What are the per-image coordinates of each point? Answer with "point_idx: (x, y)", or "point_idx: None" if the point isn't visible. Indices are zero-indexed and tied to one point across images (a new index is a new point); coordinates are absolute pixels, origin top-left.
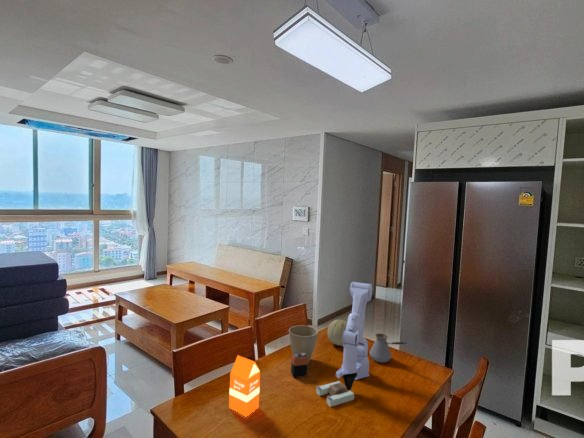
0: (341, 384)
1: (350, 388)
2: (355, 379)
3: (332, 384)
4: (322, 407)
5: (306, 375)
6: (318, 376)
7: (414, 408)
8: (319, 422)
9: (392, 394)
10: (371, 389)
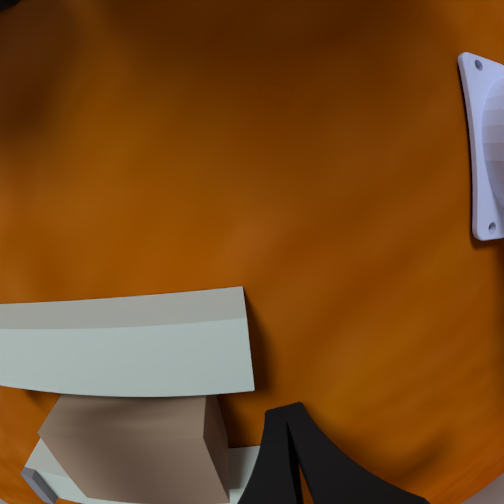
0: (193, 468)
1: (296, 455)
2: (484, 240)
3: (105, 363)
4: (16, 444)
5: (11, 4)
6: (113, 10)
7: (464, 497)
8: (9, 487)
9: (500, 429)
10: (472, 387)
